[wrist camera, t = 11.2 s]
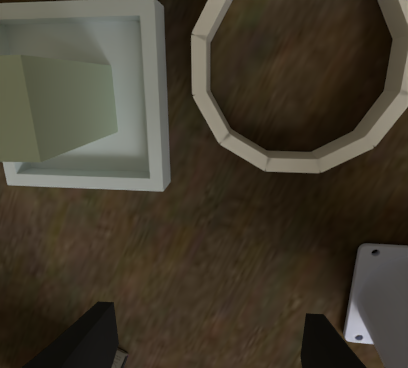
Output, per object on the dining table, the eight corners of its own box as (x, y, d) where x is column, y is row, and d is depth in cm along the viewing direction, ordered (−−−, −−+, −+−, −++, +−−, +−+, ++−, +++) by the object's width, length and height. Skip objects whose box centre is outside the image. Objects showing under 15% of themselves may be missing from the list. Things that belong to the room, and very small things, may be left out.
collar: (426, -60, 15) (452, -80, 13) (384, 166, 19) (399, 175, 17) (196, -47, 17) (189, -64, 15) (197, 161, 20) (192, 169, 18)
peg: (111, 65, 19) (20, 54, 11) (118, 131, 20) (40, 162, 12) (50, 67, 19) (-78, 57, 12) (60, 131, 20) (-48, 161, 13)
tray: (163, 6, 18) (154, -3, 16) (170, 181, 21) (163, 191, 19) (-4, 11, 19) (-32, 4, 17) (27, 176, 22) (7, 185, 20)
